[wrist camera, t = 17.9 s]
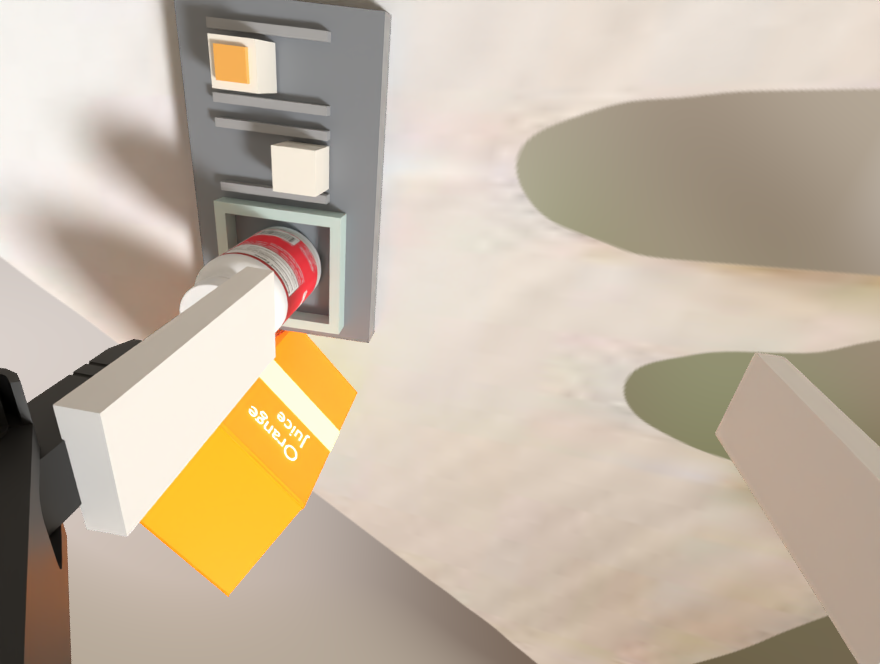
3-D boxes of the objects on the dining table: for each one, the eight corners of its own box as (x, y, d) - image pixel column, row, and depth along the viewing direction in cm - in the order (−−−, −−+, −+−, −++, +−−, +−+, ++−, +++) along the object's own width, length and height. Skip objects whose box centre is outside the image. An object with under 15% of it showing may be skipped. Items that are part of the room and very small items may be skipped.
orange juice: (297, 321, 44) (161, 479, 26) (359, 392, 47) (274, 578, 29) (238, 362, 47) (79, 530, 29) (300, 426, 50) (189, 617, 32)
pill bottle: (275, 308, 42) (205, 376, 32) (234, 242, 39) (145, 294, 30) (337, 282, 40) (284, 346, 30) (298, 211, 38) (227, 256, 28)
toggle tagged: (231, 37, 33) (203, 32, 30) (275, 42, 33) (252, 38, 30) (234, 87, 34) (208, 87, 31) (276, 93, 34) (255, 93, 31)
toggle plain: (288, 140, 35) (271, 145, 33) (329, 145, 35) (315, 151, 32) (289, 183, 37) (272, 191, 34) (328, 189, 36) (315, 196, 34)
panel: (189, -9, 34) (158, -19, 31) (391, 15, 33) (380, 7, 30) (221, 309, 45) (200, 326, 41) (373, 332, 44) (364, 351, 41)
